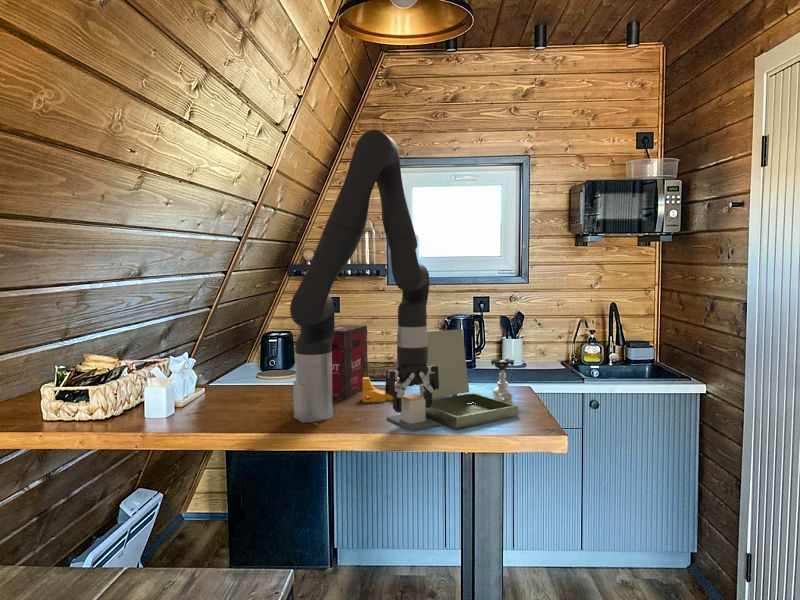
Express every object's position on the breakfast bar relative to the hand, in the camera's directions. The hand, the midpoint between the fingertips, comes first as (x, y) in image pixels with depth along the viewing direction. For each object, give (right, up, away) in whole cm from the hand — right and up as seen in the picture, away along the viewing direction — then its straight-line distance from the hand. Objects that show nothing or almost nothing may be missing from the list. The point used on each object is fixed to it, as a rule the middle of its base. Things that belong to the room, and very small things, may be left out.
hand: (412, 409), depth 137 cm
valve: (+26, -2, +19) cm, 32 cm away
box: (-20, -2, +33) cm, 39 cm away
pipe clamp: (-8, -2, +24) cm, 25 cm away
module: (0, -3, 0) cm, 3 cm away
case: (+13, -3, +8) cm, 15 cm away
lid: (+9, +10, +14) cm, 19 cm away
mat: (0, -3, 0) cm, 3 cm away
